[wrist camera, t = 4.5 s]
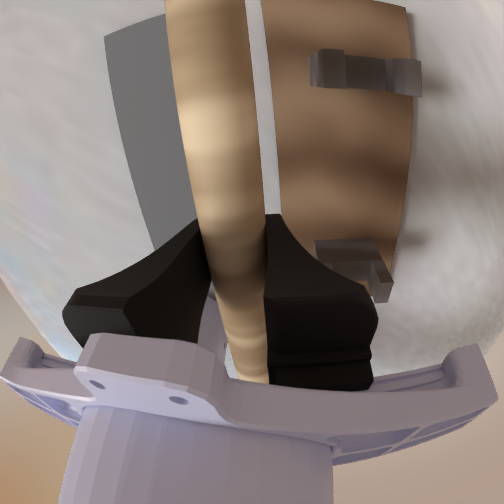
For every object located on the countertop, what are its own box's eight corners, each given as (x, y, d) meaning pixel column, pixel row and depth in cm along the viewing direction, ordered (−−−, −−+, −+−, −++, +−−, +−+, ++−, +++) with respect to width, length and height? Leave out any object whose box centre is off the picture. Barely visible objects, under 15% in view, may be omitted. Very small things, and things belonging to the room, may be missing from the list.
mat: (260, 295, 27) (260, 300, 27) (175, 297, 28) (174, 301, 28) (223, 3, 12) (221, 1, 12) (107, 37, 13) (103, 36, 13)
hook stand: (380, 288, 26) (398, 338, 20) (285, 294, 27) (286, 349, 22) (399, 9, 11) (446, -7, 5) (260, -2, 12) (255, -36, 7)
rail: (276, 366, 18) (273, 396, 16) (242, 364, 19) (237, 394, 17) (245, -22, 6) (233, -47, 4) (178, -8, 6) (149, -26, 4)
